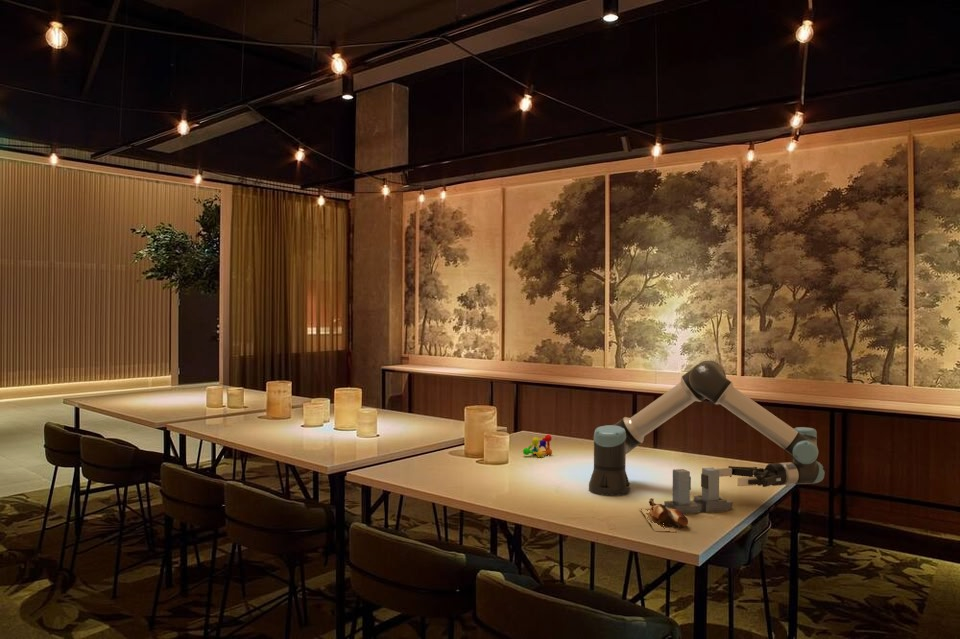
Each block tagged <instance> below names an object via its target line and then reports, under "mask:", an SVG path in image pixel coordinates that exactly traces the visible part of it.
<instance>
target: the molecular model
mask: <svg viewBox="0 0 960 639" xmlns="http://www.w3.org/2000/svg"><path fill="white" fill-rule="evenodd" d="M531 441H532V443H531V444H530V445H529V446H528V447H525V448H523V450H522V452H523V453H522V454H523V455H525V456H528V455H529V454H532V455H533V454H536V455H535V456H537V458H539V457H542V458H544V456H545V455H546V456H547V455H550V456H552V454H553V451H552V449H550V447H551V446H550V445H551V444H550V442H551V441H552V435H550V434H546V435H545V436H544V437H543V438H539V437H533V438H532V440H531ZM542 447H543V448H544V450H541V448H542Z"/></svg>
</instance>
